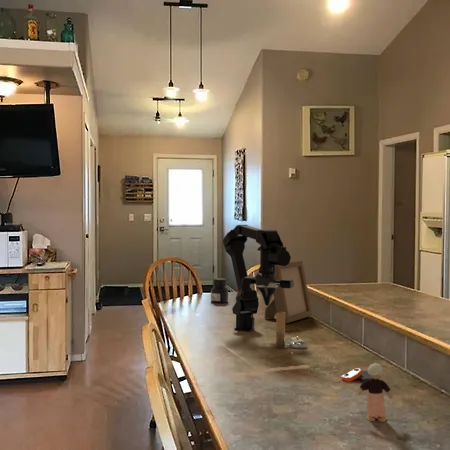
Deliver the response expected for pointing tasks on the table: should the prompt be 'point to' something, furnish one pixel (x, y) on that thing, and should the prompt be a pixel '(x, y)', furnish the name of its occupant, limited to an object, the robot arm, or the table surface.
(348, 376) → the multimeter
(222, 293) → the ink bottle
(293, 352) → the stand plate
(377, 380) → the grandmother figurine
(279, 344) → the brown cylinder with ball
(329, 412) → the table surface
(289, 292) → the photo frame
